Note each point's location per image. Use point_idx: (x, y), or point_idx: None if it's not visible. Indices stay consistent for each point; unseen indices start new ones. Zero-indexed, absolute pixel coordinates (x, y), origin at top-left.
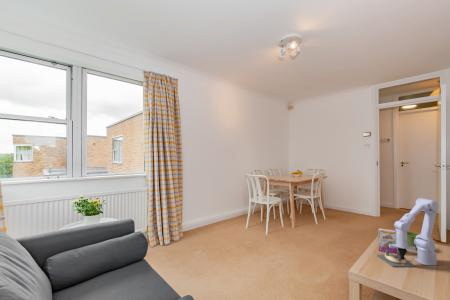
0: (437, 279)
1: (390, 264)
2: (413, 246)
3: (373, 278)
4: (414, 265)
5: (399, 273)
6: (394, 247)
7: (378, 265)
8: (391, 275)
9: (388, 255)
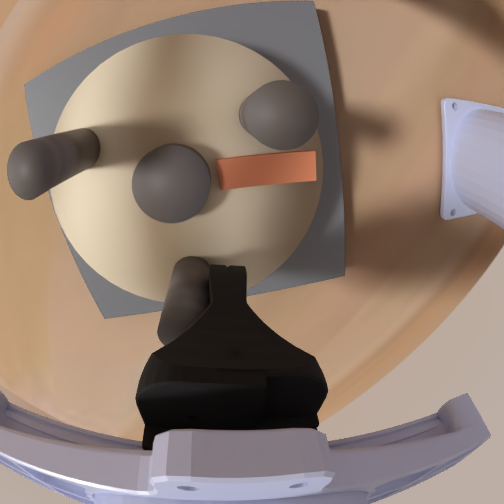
0: (348, 384)
1: (92, 290)
2: (479, 441)
3: (27, 399)
4: (336, 275)
5: (135, 376)
6: (65, 437)
7: (20, 297)
8: (87, 391)
9: (83, 169)
